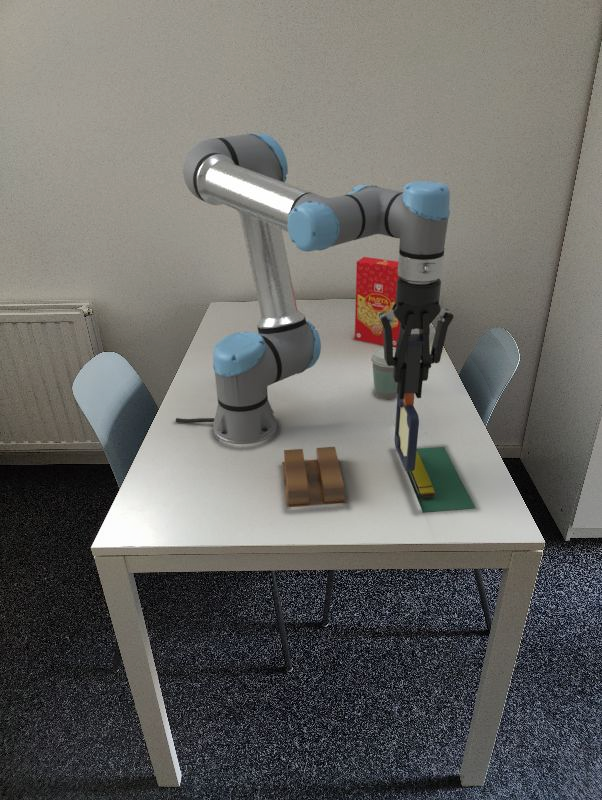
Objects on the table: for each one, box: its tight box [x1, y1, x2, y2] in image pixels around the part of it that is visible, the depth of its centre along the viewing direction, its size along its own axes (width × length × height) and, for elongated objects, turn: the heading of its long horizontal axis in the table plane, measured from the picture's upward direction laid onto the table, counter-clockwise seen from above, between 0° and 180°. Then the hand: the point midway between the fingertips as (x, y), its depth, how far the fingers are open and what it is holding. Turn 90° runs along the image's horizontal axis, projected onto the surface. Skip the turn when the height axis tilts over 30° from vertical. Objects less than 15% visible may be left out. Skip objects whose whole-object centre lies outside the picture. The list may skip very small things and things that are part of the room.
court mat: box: [406, 446, 476, 513], centre depth 124 cm, size 12×21×1 cm, turn 5°
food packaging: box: [354, 256, 401, 348], centre depth 177 cm, size 15×5×25 cm, turn 60°
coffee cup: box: [370, 346, 398, 400], centre depth 152 cm, size 9×8×12 cm
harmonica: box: [409, 450, 435, 498], centre depth 123 cm, size 15×3×2 cm, turn 5°
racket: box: [394, 333, 424, 472], centre depth 114 cm, size 11×3×27 cm, turn 5°
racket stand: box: [281, 446, 348, 508], centre depth 121 cm, size 15×12×5 cm
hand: (408, 394), depth 113 cm, fingers closed on racket, 3 cm apart
